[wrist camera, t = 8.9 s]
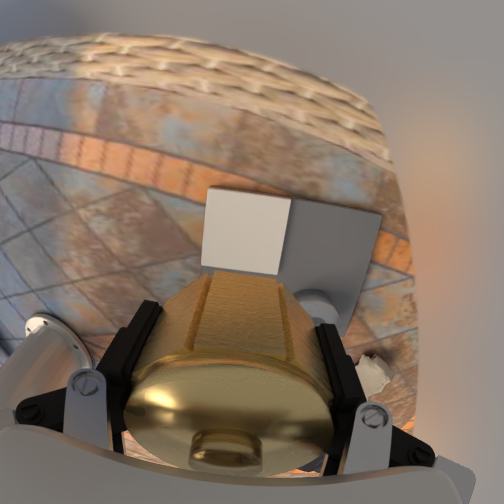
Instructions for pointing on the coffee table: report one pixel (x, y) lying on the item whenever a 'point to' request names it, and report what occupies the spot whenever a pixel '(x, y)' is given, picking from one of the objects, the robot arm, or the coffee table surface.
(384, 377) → the beige bone fragment
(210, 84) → the coffee table surface
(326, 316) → the grey knob
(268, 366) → the gold lidded jar
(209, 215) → the pad
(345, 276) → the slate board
